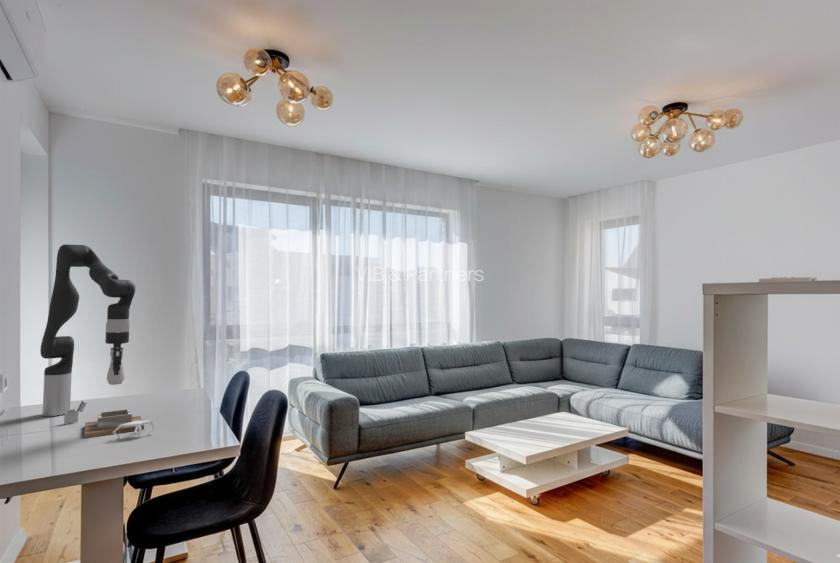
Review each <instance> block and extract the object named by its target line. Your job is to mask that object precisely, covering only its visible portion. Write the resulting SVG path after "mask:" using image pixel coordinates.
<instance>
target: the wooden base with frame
mask: <svg viewBox="0 0 840 563" xmlns="http://www.w3.org/2000/svg"><path fill="white" fill-rule="evenodd" d="M137 420H138V421H143V419H142V418H141V416H140V415H137V416H135V415H134V416H133V413H132V412H131V409H130V408H126V409H118V410H111V411H110V410H108V411H102V412H101V411H100V412H97V420H95V421H88V422H85V423H84V439H87V438H94V437H95V438H96V437H100V436H106V435H109V436H110V435H113V434H114V433H112V432H113V431H114V430H115V429H116V428H117V427H118V426H119V425H121V424H125V423H129V422H133V421H137ZM135 427H136V426H130V427H121V428H119V429H118V430H117V431H116V432H115V433H116V434H121V433H122V434H123V433H130V432H134V431H135ZM142 429H144V430H145V424H144V425H141V431H143V430H142ZM129 431H130V432H129ZM137 431H139V427H138V429H137ZM114 435H115V434H114Z"/></svg>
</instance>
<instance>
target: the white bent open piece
mask: <svg viewBox="0 0 840 563" xmlns="http://www.w3.org/2000/svg"><path fill="white" fill-rule="evenodd" d="M149 424H150V425H151V427H152V430H150V431H149V432H148V433H149V435H152V432H153V431H156V428H155V424H154V421H153V420H142V421H138V420H137V421H133V422H129V423H125V424H121V425H119V426H118V427H117V428H116V429H115V430H114V431H113V432H112V433H114V435H115V436H116V437H117V439H121V435H119V433H115V432H116V431H117V430H118V429H119V428H121V427H130V426H136V427H135V431H133V433H134V434H137V437H138V438H141V431H142V430H141V425H144V426H145V425H149ZM138 427H139V430H137V429H138ZM137 431H138V432H137Z"/></svg>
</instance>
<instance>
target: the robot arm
mask: <svg viewBox="0 0 840 563" xmlns="http://www.w3.org/2000/svg"><path fill="white" fill-rule="evenodd" d="M55 263H56V264H55V265H56V266H55V275H54V283H53V288H52V289H53V290H52V293H51V297H50V303H49V310H48V317H47V322H46V326H45V330H44V332H43V337H42V339H41V344H40V352H39V353H40V356H41V358H42V359H60V360H59V361H58V362H56V363H55V364H51V365H49V366H47V367H45V368H44V373H43V375H44V376H43V393H42V411H41V412H42V413H41V414H42V416H43V417H56V416H57V415H59V416H62V415H63V414H64V413H67V411H68V410H71V401H72V400H71V398H72V377H73V376H72V375H73V364H74V362H73V361H74V352H75V341H74V340H75V339H74V338H73V337H72V336H69V335H68V336H67V335H64V336H62V335H61V336H57V334H58V333H59V330H60V329H61V328H62V327H63V326H64V325H65V324H66V323H67V322H68V321H69V320H70V319H71V318H72V317H73V316H74V315H75V314H76V312H77V310H78V306H79V302H80V294H79V292H78V289H77V288H76V286H75V285H74V283H73V282H72V280H71V277H70V273H71V272H70V271H71V268H73V267H75V268H82V267H83V268H88V275H89V277H90V279H91V280H92V281H93V282H94V283H96V284H97V285H98V286H99V287H100V289H101V291H102V294H103V295H104V296H106V297H109V298H119V300H118V302H116V303H111V304H108V306H107V312H106V314H107V315H106V316H107V317H106V323H105V325H106V326H105V339H104V341H105V344H107V345H113V346H112V347H111V348H110V352H111V353H112V356H110V361H111V360H112V361H113V365H112V366H113V371H114V375H119V371H120V367H119V366H120V365H121V360H122V361H123V356H122V353H123V352H124V347H122V345H123V344H128V343H129V342H130V308H131V304H132V302H133V300H134V299H133V298H134V297H135V293H136V285H135V284H134V281H132V280H129V279H120V278H119V276H118V275H117V274H116V273H115V272H114V271H113V270H112V269H110V268H109V267H107V265H105V264H104V262H102V260H101V259H100V257H99V256H98V255H97V254H96V253H95V251H94V250H93V249H92V248H91V247H89V246H87V245H85V244H62V245H60V246H59V248H58V251H57V254H56V262H55ZM113 354H114V355H113ZM115 360H119V362H115ZM116 368H117V369H116ZM116 370H117V371H116ZM116 372H117V373H116ZM42 416H41V417H42ZM63 416H64V415H63ZM57 417H58V416H57Z"/></svg>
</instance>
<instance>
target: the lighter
mask: <svg viewBox="0 0 840 563" xmlns="http://www.w3.org/2000/svg"><path fill="white" fill-rule="evenodd" d="M87 404H88V402H87V401H84V400H81V402H80V404H79V406H78V407H77V409H74V408H73V409H70V410H68V411H67V413H64V415H63V416H64V417H63V424H64V423H65V424H66V425H68V424H67V423H71V424H74V423H73V422H77V423H78V422H79V412H80V413H82V412H83V411H84V410H85V407H86V405H87ZM65 424H64V425H65Z"/></svg>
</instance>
